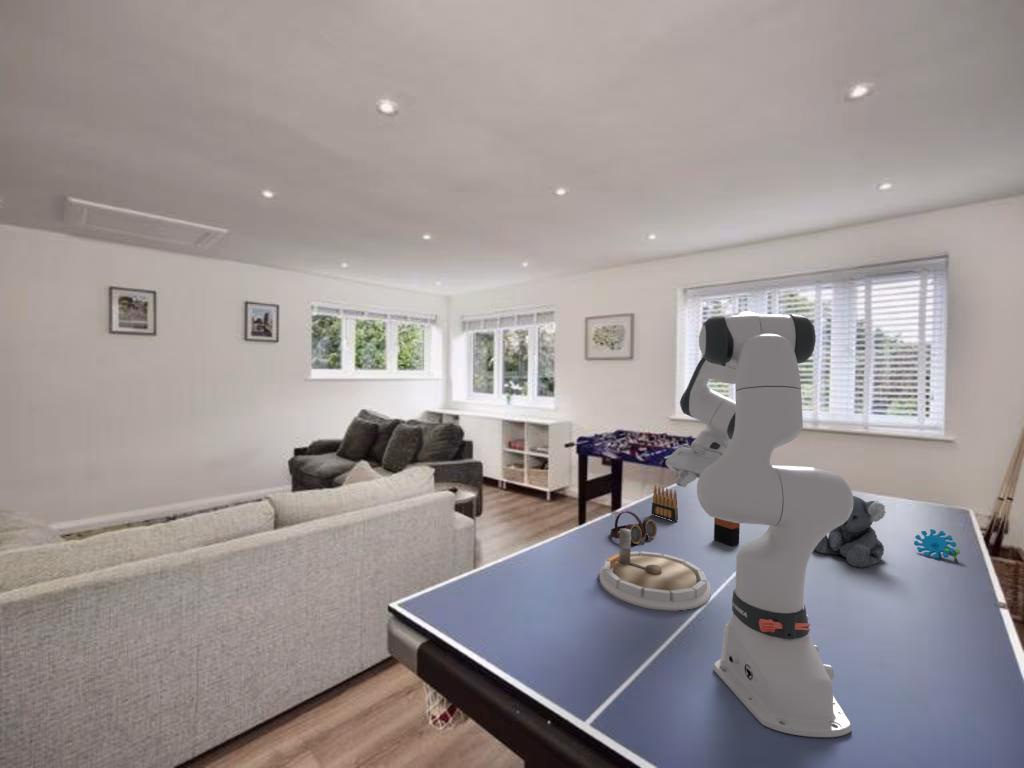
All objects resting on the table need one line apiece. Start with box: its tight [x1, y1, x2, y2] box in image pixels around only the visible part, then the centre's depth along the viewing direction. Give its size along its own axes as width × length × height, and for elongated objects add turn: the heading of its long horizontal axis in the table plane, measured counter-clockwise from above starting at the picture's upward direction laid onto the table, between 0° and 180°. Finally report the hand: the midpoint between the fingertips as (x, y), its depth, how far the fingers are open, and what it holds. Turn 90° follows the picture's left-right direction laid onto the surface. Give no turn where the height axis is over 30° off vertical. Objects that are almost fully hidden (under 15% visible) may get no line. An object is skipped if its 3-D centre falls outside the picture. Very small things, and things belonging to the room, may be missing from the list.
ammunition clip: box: [651, 485, 679, 522], centre depth 181 cm, size 11×2×12 cm, turn 37°
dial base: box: [599, 550, 712, 612], centre depth 124 cm, size 28×28×4 cm
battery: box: [713, 517, 741, 547], centre depth 156 cm, size 4×7×10 cm, turn 29°
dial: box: [613, 528, 696, 593], centre depth 124 cm, size 21×21×10 cm
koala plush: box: [813, 495, 887, 569], centre depth 146 cm, size 17×18×20 cm
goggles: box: [610, 510, 658, 545], centre depth 159 cm, size 15×13×10 cm
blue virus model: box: [913, 529, 961, 560], centre depth 147 cm, size 11×6×10 cm
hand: (679, 484), depth 135 cm, fingers closed
